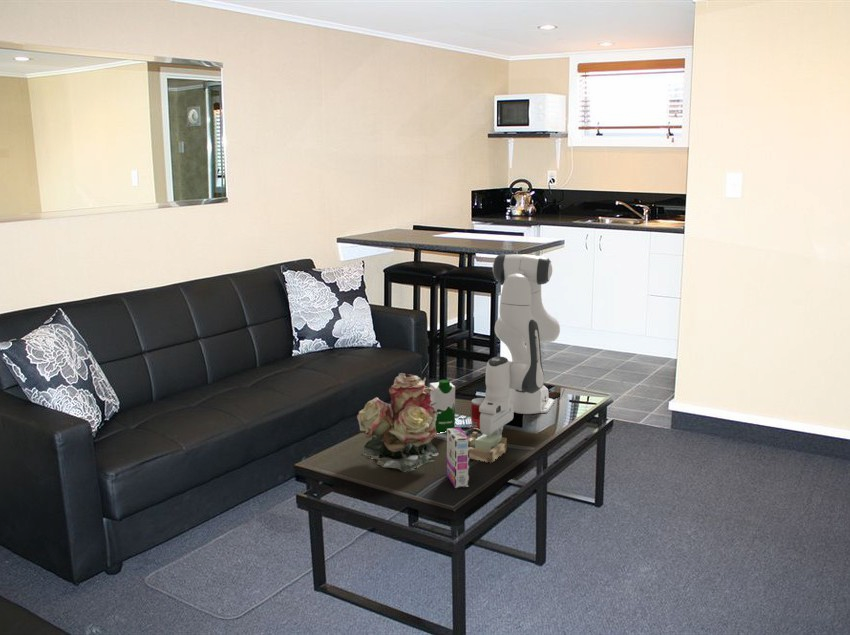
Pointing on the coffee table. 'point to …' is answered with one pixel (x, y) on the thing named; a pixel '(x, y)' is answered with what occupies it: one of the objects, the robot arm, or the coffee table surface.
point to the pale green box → (488, 441)
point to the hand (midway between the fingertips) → (497, 438)
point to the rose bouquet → (401, 424)
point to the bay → (483, 454)
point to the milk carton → (443, 404)
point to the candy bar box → (458, 457)
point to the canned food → (476, 412)
